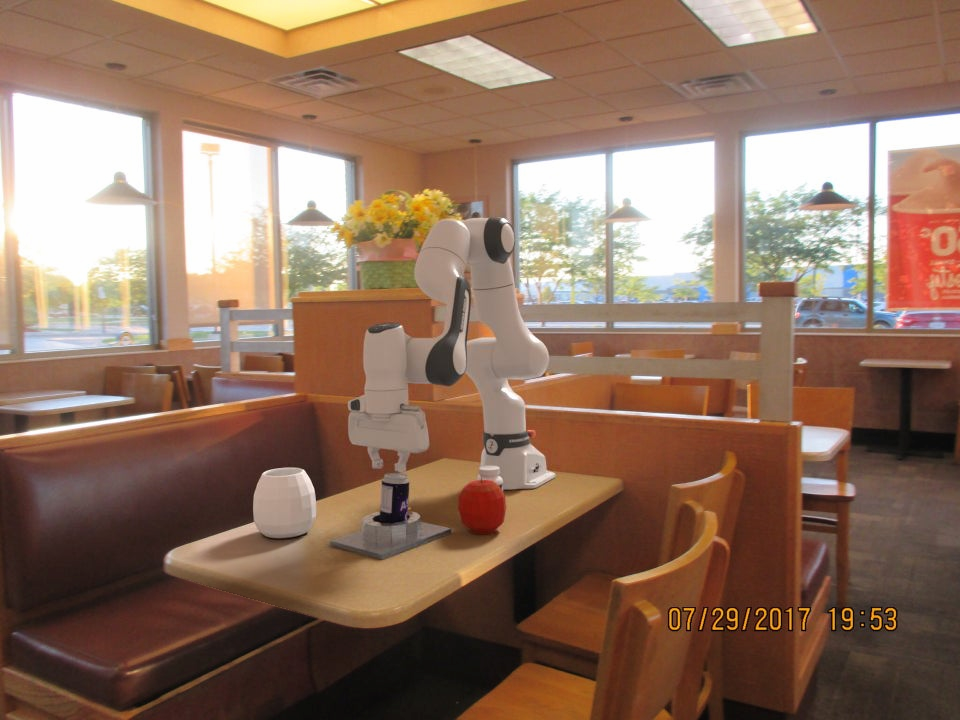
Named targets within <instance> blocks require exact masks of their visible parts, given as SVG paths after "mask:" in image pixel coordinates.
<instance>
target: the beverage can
mask: <svg viewBox="0 0 960 720" xmlns="http://www.w3.org/2000/svg"><path fill="white" fill-rule="evenodd" d="M383 476H384V477H383V479H382V480H381V486H380V487H381V489H380V505H379V512H380V519H379V523H397V522H402V521H405V520H407V516H408V508H409V497H410V483H411V482H410V480H409V476H408V475H407V474H405V473H399V472H390V473H389V472H388V473H384V475H383Z"/></svg>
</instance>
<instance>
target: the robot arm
mask: <svg viewBox="0 0 960 720" xmlns="http://www.w3.org/2000/svg"><path fill="white" fill-rule="evenodd" d="M515 243H516V234H515V230H514V228H513V225H512V224H511V223H510V222H509V221H508V220H507V219H506V218H503V217H498V216H497V217H496V216H490V217H474V218H473V217H472V218H467V219H464V220H457V219H454V218H443V219H440V220H438V221H437V222H435V223H434V225H433V226H432V228H431V229H430V231H429V232H428V234H427V235H426V237H425V239H424V241H423V244H422V246H421V248H420V250H419V254H418V256H417V259H416V262H415V266H414V271H413V272H414V273H413V276H414V280H415V282H416V285H417V287H418V288H419V289H420V290H421V291H422V293H423V294H424V295H426V296H428V297H429V298H431V299H433V300H434V301H437V302H439V303H443V304H444V305H446V311H445V318H444V327H443V332H442V333H441V334H440V335H438V336H435V337H412V336H410V335H408V334H407V333H405V329H404V326H403V325H402V324H401V323H398V322H384V323H382V322H381V323H377V324H374V325H371V326H369V327H368V328H367V329H366V331H365V334H364V340H363V350H362V351H363V357H362V358H363V371H364V374H365V384H364V387H363V388H364V394H362V395H360V396H358V397H356V398H353V399H350V400H348V402H347V408H348V411H350V412H349V415H348V418H347V419H348V422H347V425H348V429H347V431H348V432H347V433H348V438H349V441H350V443H351V444H352V446H353V445H355V446H359V447H360V446H361V447H366V448H367V453H368V455H369V456H368V457H369V458H370V459H371V468H372V469H375V470H376V469H377V470H380V469H383V468H384V459H382V458H381V457H380V453H379V452H380V449H383V450H391V451H396V452H397V456H398V457H399V458H398V461H397V462H396V463H394V473H400V474H404V473H405V472H406V471H407V462H408V460H409V458H410V455H411V453H412V454H420V453H423V452H424V453H425V452H426V451H427V450H428V449H429V447H430V437H429V429H428V424H427V420H426V412H425V411H423V409H422V408H421V407H420V406H419V405H410V404H409V385H408V384H410V383H411V384H421V385H422V384H423V385H424V384H425V385H427V384H428V385H429V384H430V385H437V386H445V387H451V386H454V385H455V384H456V383H457V382H459V381H460V379H462V377H463V376H464V375H465V374H466V375H467V376H468V378H470V379H471V380H472V382H473V384H474V386H475V387H476V389H477V391H478V393H479V397H480V400H481V404H482V405H481V406H482V414H483V429H484V430H483V432H482V438H481V439H482V446H483V449H482V450H481V456H480V467H482V466H498V467H499V471H500V473H499V474H498V476H500V477H501V478H502V480H503V490H519V489H536V488H538V487H540V486H542V485H544V484H546V483H547V482H549V481H551V480H553V479H555V478H556V477H557V476H556V473H555V472H553V471H550V470H548V469H547V461H546V460H547V459H546V456H545V455H544V454H543V453H542V452H541V451H539V450H538V449H537V448H536V447H534V445H532V443H531V439H530V438H533V439H534V438H535V437H536V434H537V433H536V432H537V431H535V429H534V430H533V429H531V430H530V429H528V430H527V426H526V425H527V424H526V421H527V420H526V403H525V401H524V399H523V398H522V397H521V396H520V394H519V395H518V394H517V393H515V392H514V390H513V389H512V388H511V385H509V381H508V380H517V381H518V380H520V381H521V380H522V381H524V380H530V379H535V378H540V377H541V376H543V375H544V374H545V372H546V371H547V369H548V366H549V363H550V355H549V350H548V348H547V346H546V345H545V343H544V342H543V341H541V340H540V339H539V338H538V337H536V336H535V335H534V334H533V333H532V332H531V331H530V329H529V328H528V326H527V325H526V323H525V321H524V319H523V318H522V314H521V311H520V309H519V303H518V297H517V292H516V283H515V275H514V271H513V268H512V264H511V260H510V257H511V256H512V254H513V252H514V249H515V245H516V244H515ZM467 266H470V283H471V285H470V283H469V280H468V279H467V278H465V271H466V268H467ZM472 297H473V305H474V306H473V307H474V312H475V316H476V319H477V320H478V322H480V323H481V324H483V325H485V326H486V327H488V329H490V330H491V332H492V333H493V337H492V336H491V337H485V336H484V337H478V338H474V339H473V338H472V339H470V340H468V334H469V327H470V317H471V310H472V309H471V307H472ZM479 476H480V474H478V476H477V478H478V477H479Z"/></svg>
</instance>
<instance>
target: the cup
mask: <svg viewBox="0 0 960 720" xmlns="http://www.w3.org/2000/svg"><path fill="white" fill-rule="evenodd" d="M252 506H253V507H252V513H253V522H254V525H255V526H256V529H257V530H258V531H259V533H260V534H261V533H262V535H264V536H265V537H267V538H271V539H287V538H295V537H298V536H302V535H304V534H305V533H307V532H308V531H309V530H311V528H312V527H313V526H314V523H315V520H316V518H317V501H316V492H315V488H314V486H313V483H312V480H311V478H310V477H309V475H308V474H307V472H306V471H305V469H302V468H301V467H300V468H299V467H281V468H273V469H269V470H266V471H264V472H262V473H261V476H260V477H259V479H258V482H257V484H256V487H255V490H254V494H253V502H252Z"/></svg>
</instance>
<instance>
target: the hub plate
mask: <svg viewBox="0 0 960 720" xmlns="http://www.w3.org/2000/svg"><path fill="white" fill-rule="evenodd" d="M379 519H380V511H376V512H372V513H370V514H366V515H365V516H363V517H362V518H361V530H359V531H356V532H353V533H350V534H346V535H344V536H339V537H337V538H335V539H332V540H329V542H330V543H329V544H330V546H331V547H335V548H338V549H341V550H345V551H347V552H348V551H349V552H352V553H355V554H360V555H363V556H367V557H369V558H370V557H371V558H374V559H378V560H381V561H382V560H385V559H388V558H391V557H393V556H395V555H398V554H401V553H403V552H406V551H409V550H411V549H414V548H417V547H419V546H422V545H424V544H426V542H427V543H430V542H431V541H435V540H438V539H440V538H443V537H445V536H448V535H450V533H451V534H452V528H450V527H447V526H441V525H436V524H432V523H427V522H423V521H421V520H422V519H421V515H420V514H419V513H417V512H415V511H413V507H408V516H407V520H405V521H402V522H397V523H379ZM447 534H448V535H447ZM444 535H445V536H444ZM442 536H443V537H442ZM439 537H440V538H439ZM437 538H438V539H437ZM434 539H435V540H434ZM429 541H430V542H429ZM421 544H422V545H421ZM416 546H417V547H416ZM413 547H414V548H413Z"/></svg>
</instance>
